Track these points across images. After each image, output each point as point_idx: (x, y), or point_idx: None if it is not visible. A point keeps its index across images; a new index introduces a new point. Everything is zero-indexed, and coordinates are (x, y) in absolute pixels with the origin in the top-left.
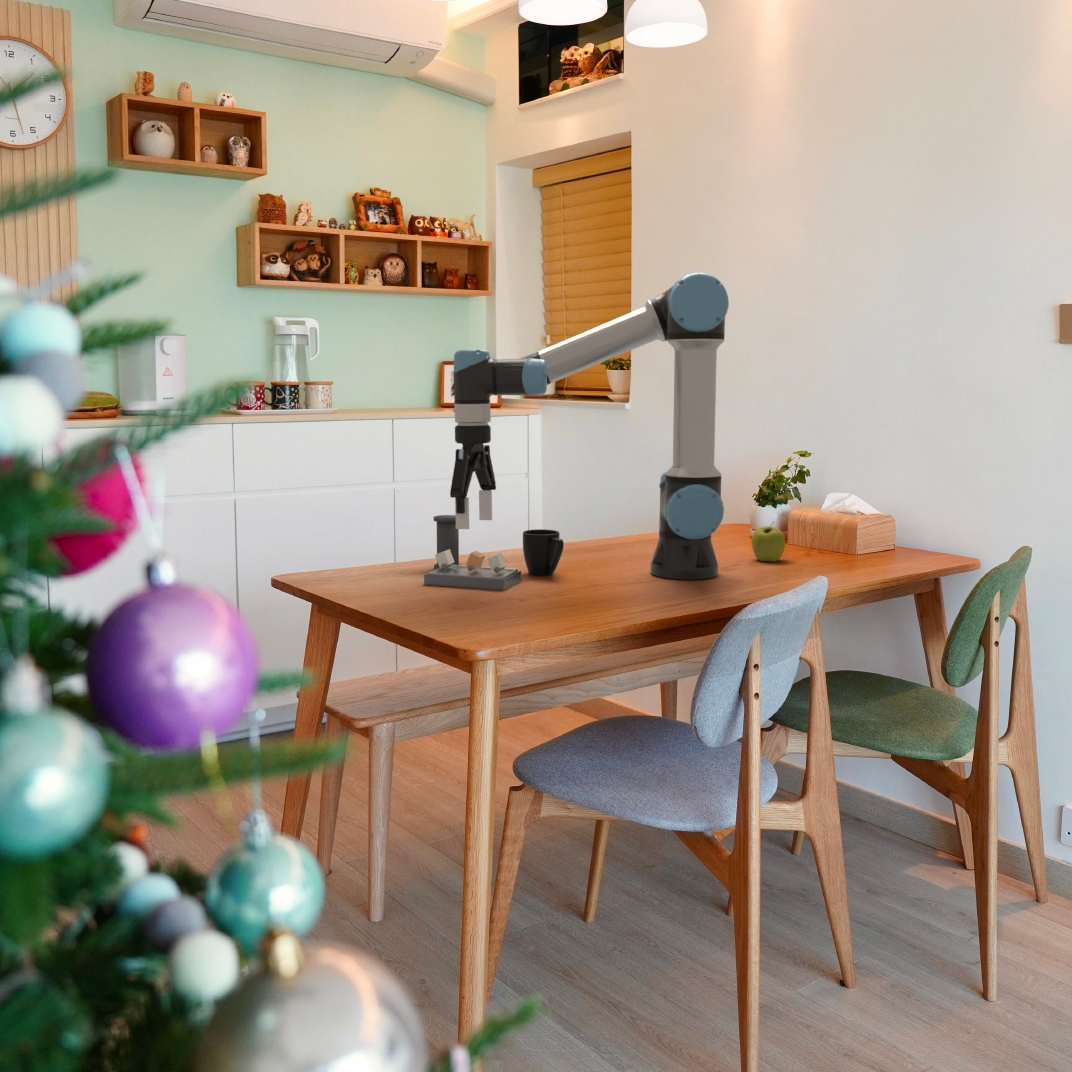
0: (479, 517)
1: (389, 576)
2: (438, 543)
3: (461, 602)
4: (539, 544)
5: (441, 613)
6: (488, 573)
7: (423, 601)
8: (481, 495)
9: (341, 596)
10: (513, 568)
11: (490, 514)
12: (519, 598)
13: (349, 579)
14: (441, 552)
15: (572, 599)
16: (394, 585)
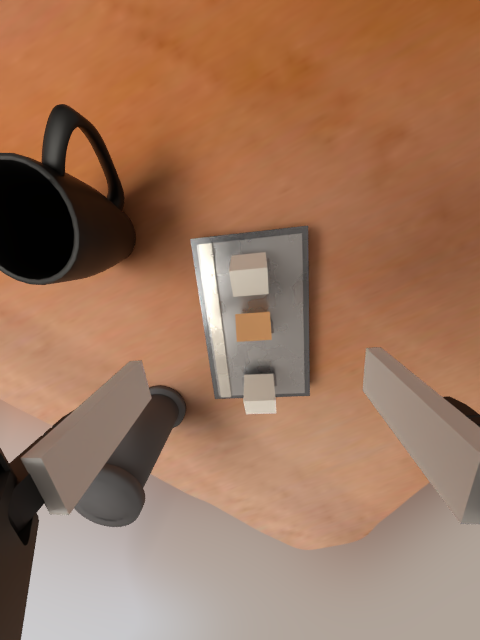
0: (147, 403)
1: (262, 454)
2: (160, 452)
3: (442, 256)
4: (94, 207)
5: None
6: None
7: (448, 326)
8: (86, 473)
9: None
10: (201, 253)
11: (130, 373)
12: (371, 154)
13: (307, 489)
14: (275, 404)
15: (344, 5)
16: (327, 421)
